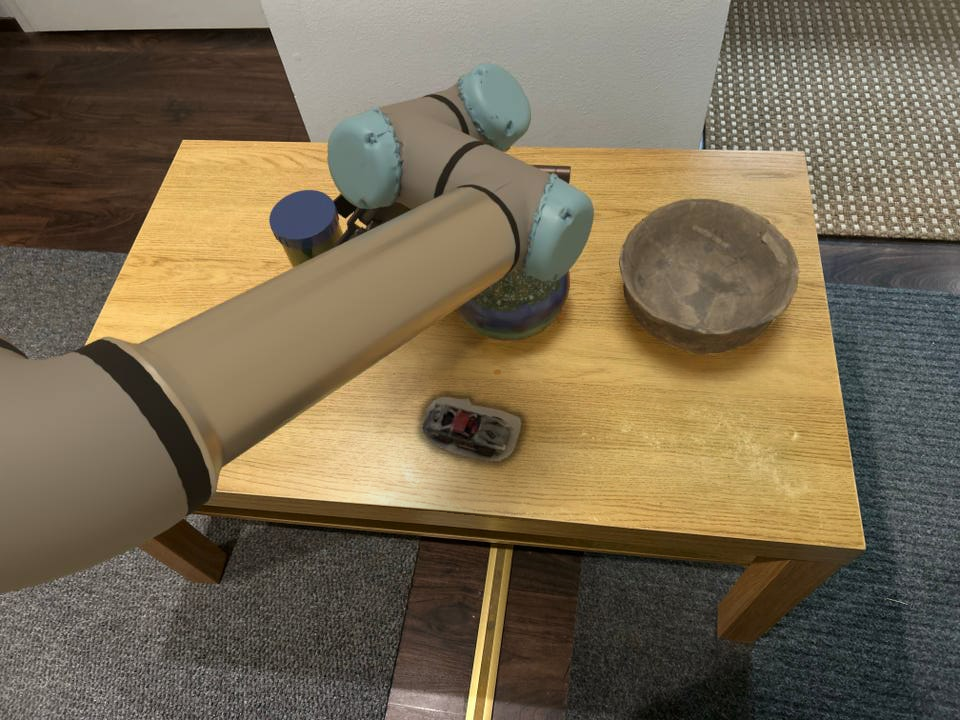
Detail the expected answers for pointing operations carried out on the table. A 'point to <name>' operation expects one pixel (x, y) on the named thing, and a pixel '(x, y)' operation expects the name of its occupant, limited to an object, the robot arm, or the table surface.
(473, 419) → the toy car
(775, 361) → the table surface
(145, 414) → the robot arm
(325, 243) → the jar
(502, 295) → the vase
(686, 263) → the bowl
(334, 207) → the lid
